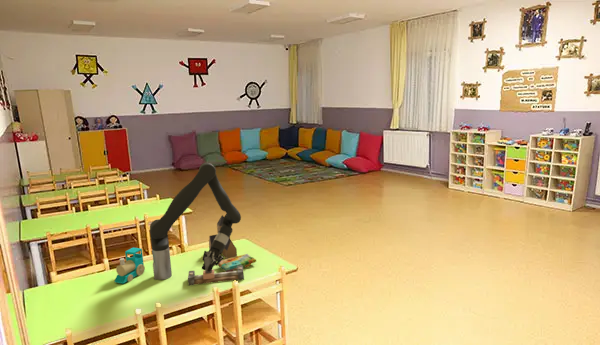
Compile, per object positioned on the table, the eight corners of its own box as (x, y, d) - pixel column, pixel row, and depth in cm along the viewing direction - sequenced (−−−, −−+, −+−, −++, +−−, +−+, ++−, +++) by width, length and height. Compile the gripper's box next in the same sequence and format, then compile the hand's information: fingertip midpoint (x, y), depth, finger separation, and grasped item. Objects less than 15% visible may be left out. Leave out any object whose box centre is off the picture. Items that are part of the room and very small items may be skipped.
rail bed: (188, 285, 222) (187, 277, 221) (189, 278, 230) (188, 270, 230) (243, 279, 227) (243, 271, 226) (242, 272, 236) (242, 264, 235)
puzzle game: (217, 260, 243) (246, 252, 254) (217, 267, 244) (247, 259, 255) (225, 267, 234) (256, 258, 245) (226, 274, 234) (256, 265, 246)
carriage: (203, 279, 225) (201, 260, 222) (203, 275, 230) (202, 256, 228) (214, 278, 226) (213, 259, 223) (214, 273, 231) (213, 255, 229)
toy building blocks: (227, 248, 273) (225, 212, 268) (237, 258, 257) (234, 220, 252) (209, 252, 267) (206, 215, 262) (217, 262, 251) (215, 223, 246)
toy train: (113, 283, 227) (110, 258, 224) (134, 271, 243) (132, 247, 240) (124, 285, 225) (121, 259, 222) (145, 272, 240) (142, 248, 237)
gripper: (207, 237, 234) (192, 264, 226) (225, 241, 226) (211, 270, 219) (214, 243, 239) (200, 270, 232) (232, 247, 231) (218, 275, 224)
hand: (205, 270), depth 225 cm, fingers closed on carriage, 3 cm apart
